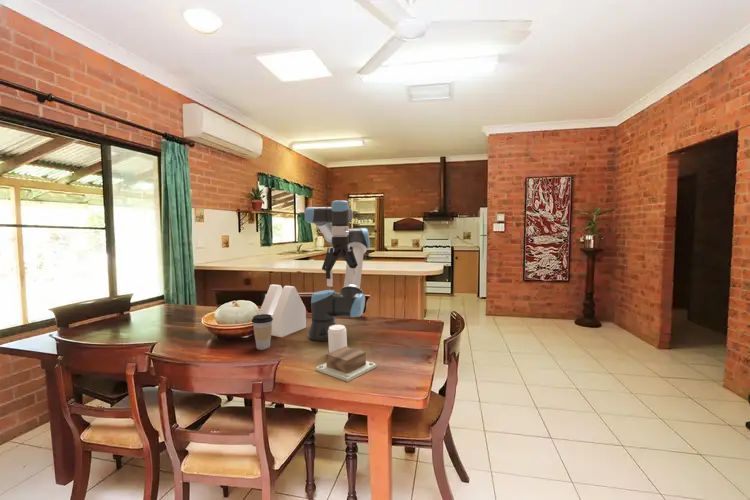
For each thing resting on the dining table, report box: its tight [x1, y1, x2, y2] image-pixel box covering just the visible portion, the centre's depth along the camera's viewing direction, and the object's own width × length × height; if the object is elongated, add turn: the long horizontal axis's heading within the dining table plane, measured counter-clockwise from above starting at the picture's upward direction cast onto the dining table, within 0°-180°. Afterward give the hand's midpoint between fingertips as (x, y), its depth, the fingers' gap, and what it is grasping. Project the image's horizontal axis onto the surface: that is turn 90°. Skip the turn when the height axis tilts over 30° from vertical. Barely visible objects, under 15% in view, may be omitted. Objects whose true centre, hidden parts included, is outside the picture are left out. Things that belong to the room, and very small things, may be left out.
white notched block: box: [258, 284, 307, 338], centre depth 187 cm, size 19×15×25 cm
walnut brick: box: [325, 346, 367, 374], centre depth 138 cm, size 11×11×5 cm
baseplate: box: [315, 360, 377, 383], centre depth 138 cm, size 17×17×2 cm
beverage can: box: [327, 324, 348, 353], centre depth 154 cm, size 8×8×12 cm
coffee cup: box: [251, 314, 273, 351], centre depth 162 cm, size 9×9×15 cm
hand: (340, 284), depth 154 cm, fingers open, 13 cm apart
